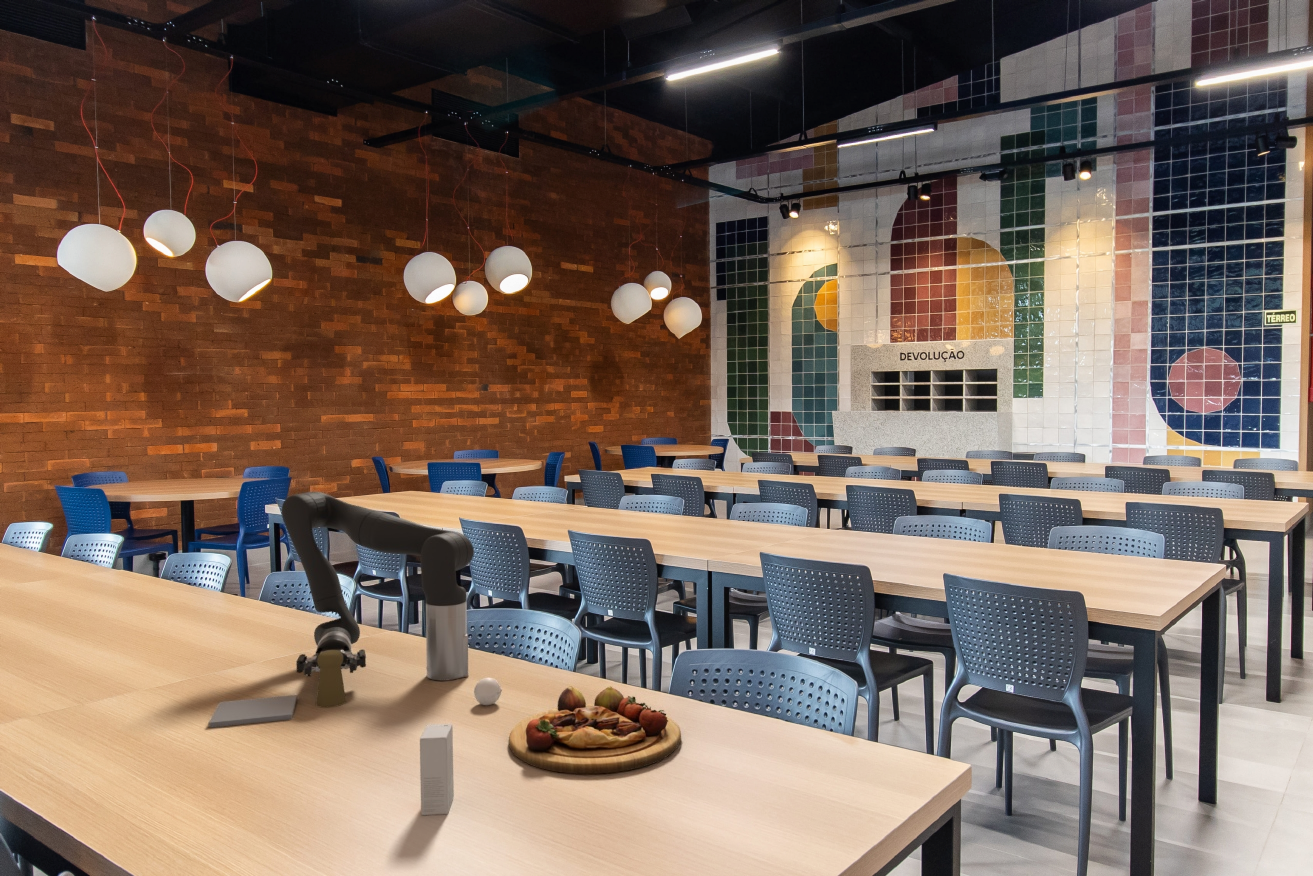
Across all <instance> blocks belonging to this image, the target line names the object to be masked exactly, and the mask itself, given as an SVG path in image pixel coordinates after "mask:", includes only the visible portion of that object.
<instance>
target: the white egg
mask: <svg viewBox="0 0 1313 876" xmlns="http://www.w3.org/2000/svg"><path fill="white" fill-rule="evenodd" d="M473 693H474V699H476V701H477V702H478V703H479V704H480V705H483V706H491V705H493V704H495V703H497V701H499V699H500V697H501V694H502V688H501V685H500V683H499V682H498V680H497V679H495V678H492V677H484V678H482V679H480V680H479V681H478V682H476V685H475V686H474V690H473Z"/></svg>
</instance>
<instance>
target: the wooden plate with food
mask: <svg viewBox="0 0 1313 876" xmlns="http://www.w3.org/2000/svg"><path fill="white" fill-rule="evenodd" d="M636 701H637V700H636V697H635V696H632V697H631V696H630V695H627V697H624V694H622V693H621V692H620V691H619V690H618V689H616V688H614V687H613V686H608V687H605V688H604V689H603V690H602V691H600V692H599V693H598V694H597V695H596V697H595V699H594V703H588V704H586V699H585V697H584V695H583V693H582V692H581V691H580V690H579V689H578V688H575V687H574V686H568V687H566V688H565V689H563V691H562V692H561V694H560V695H559V696H558V701H557V707H556V708H552V709H549V710H545V711H541V712H538V713H535V714H533V715H531V716H529V717H527V718H525V719H523V720H521V722H519V723H518V724H516V725H515V726H514V727H513V729H512V730H511V731H510V733H509V737H508V746H509V748H510V751H511V752H512V753H513V755H514V756H515V757H516V758H518V759H520V760H521V761H522V762H524V763H526V764H528V765H531V766H533V767H536V768H538V769H542V770H547V771H552V772H558V773H567V774H575V775H576V774H579V775H581V774H582V775H592V774H593V775H594V774H595V775H596V774H598V775H599V774H610V773H618V772H625V771H630V770H635V769H639V768H642V767H646V766H649V765H651V764H655V763H656V762H659V761H661V760H662V761H663V759H664V758H667V757H668V756H670V754H673V752H674V751H675V750H676V749H677V748H678V747H679V745H680V743H681V740H682V733H681V729H680V726H679V725H678V724H677V722H675V721H674V719H672V718H671V717H669V716H668V715H667V713H665V710H664V709H660V710H656V709H651V708H652V707H651V706H648V705H647V704H646V703H645V702H641V703H639V702H636Z"/></svg>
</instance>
